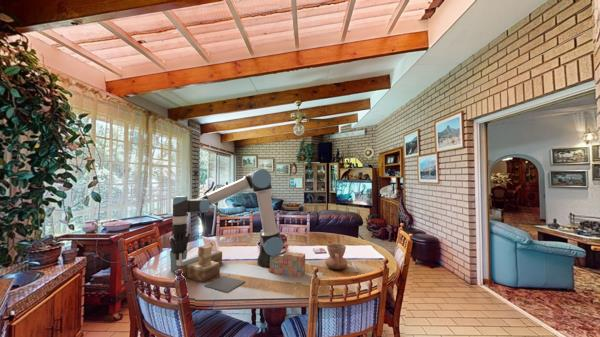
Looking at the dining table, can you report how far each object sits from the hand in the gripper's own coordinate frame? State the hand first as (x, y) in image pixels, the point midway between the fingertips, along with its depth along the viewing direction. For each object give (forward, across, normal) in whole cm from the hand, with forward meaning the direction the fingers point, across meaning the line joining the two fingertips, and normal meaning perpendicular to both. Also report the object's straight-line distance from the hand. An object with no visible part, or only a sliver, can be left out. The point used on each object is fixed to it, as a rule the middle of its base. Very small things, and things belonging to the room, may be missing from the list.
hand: (179, 264), depth 138 cm
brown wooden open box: (+9, -17, +6) cm, 20 cm away
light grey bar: (+1, -10, 0) cm, 10 cm away
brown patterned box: (+9, -37, +50) cm, 63 cm away
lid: (+4, -10, +6) cm, 12 cm away
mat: (+9, -8, +27) cm, 29 cm away
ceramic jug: (+9, -59, +74) cm, 95 cm away
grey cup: (+9, -11, -15) cm, 21 cm away
